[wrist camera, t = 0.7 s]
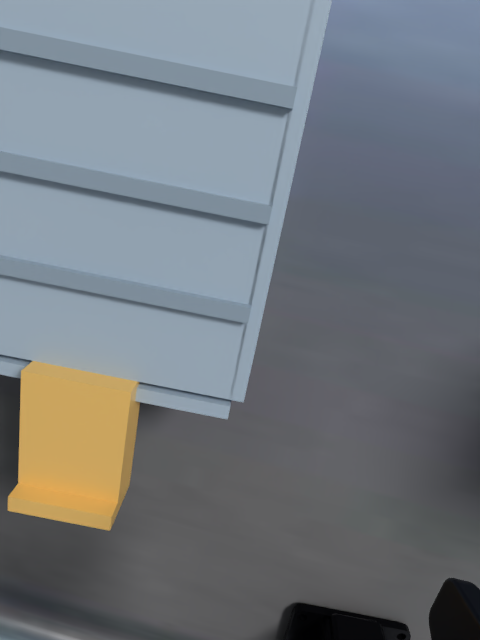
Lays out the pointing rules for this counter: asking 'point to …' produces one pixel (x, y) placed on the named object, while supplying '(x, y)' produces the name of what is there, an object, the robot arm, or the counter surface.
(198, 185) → the lid
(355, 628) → the robot arm
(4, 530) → the counter surface
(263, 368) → the counter surface
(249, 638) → the counter surface
